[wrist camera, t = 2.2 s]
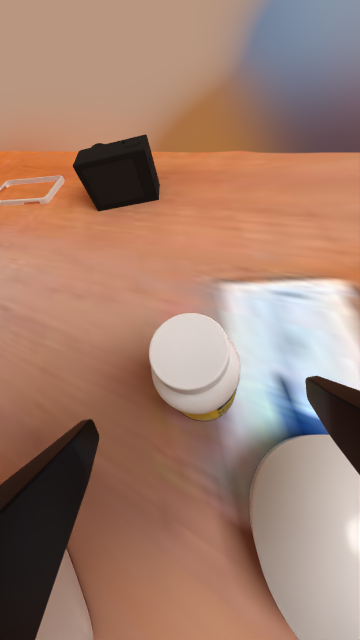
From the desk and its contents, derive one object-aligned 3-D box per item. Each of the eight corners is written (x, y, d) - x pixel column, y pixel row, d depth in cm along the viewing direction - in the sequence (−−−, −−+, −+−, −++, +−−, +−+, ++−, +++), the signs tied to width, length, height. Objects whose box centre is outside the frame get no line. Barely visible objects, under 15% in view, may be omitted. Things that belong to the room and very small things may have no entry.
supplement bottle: (228, 431, 17) (231, 425, 8) (165, 410, 18) (115, 388, 10) (241, 365, 19) (253, 309, 11) (183, 352, 21) (154, 293, 12)
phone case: (67, 182, 43) (11, 186, 47) (63, 174, 42) (6, 180, 46) (50, 205, 40) (-9, 208, 44) (44, 198, 39) (-15, 202, 43)
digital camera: (160, 180, 36) (147, 129, 30) (159, 200, 33) (144, 148, 27) (103, 192, 38) (80, 145, 32) (98, 211, 35) (71, 165, 29)
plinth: (476, 552, 12) (532, 578, 10) (365, 722, 10) (403, 800, 8) (312, 405, 17) (325, 400, 14) (218, 503, 15) (216, 515, 13)
